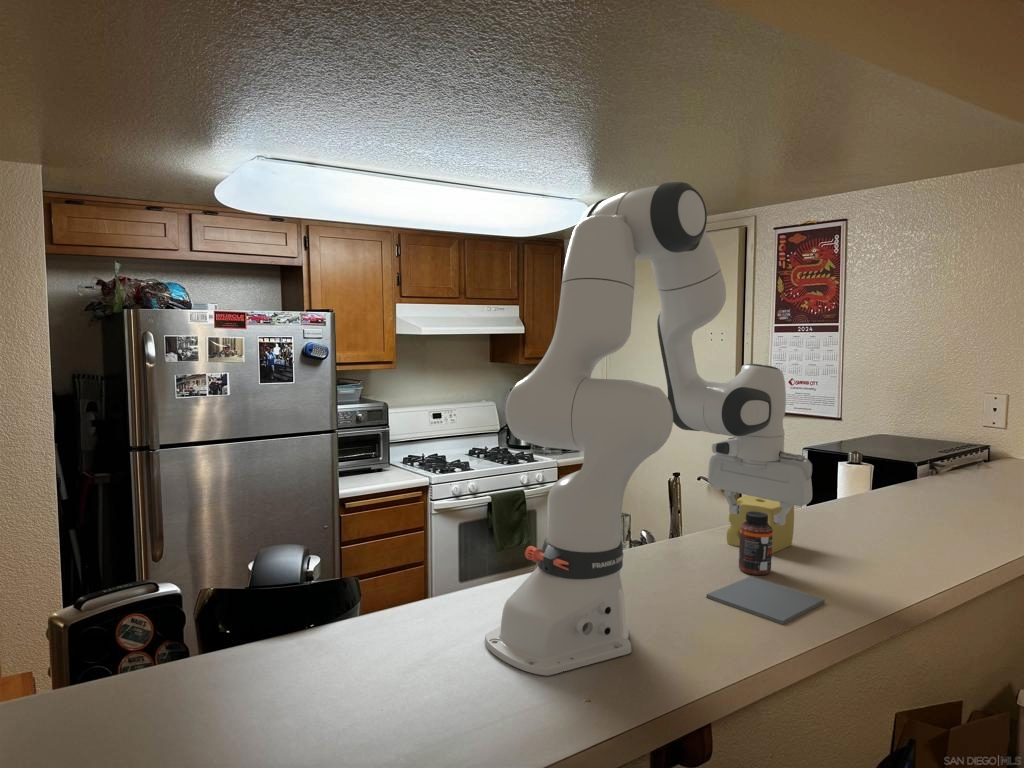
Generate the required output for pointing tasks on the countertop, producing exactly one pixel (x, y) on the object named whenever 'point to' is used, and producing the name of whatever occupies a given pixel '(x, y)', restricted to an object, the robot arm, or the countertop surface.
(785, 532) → the cheese
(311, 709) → the countertop surface
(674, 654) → the countertop surface
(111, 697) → the countertop surface
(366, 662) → the countertop surface
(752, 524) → the supplement bottle
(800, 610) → the mat
